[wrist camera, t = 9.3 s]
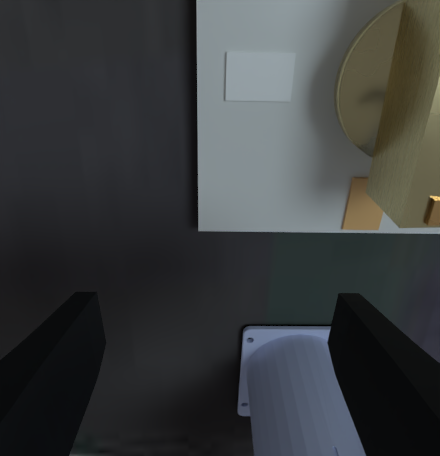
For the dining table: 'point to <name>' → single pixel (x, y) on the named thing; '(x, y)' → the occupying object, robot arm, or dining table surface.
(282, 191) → the lock plate
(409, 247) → the dining table surface
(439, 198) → the door handle
